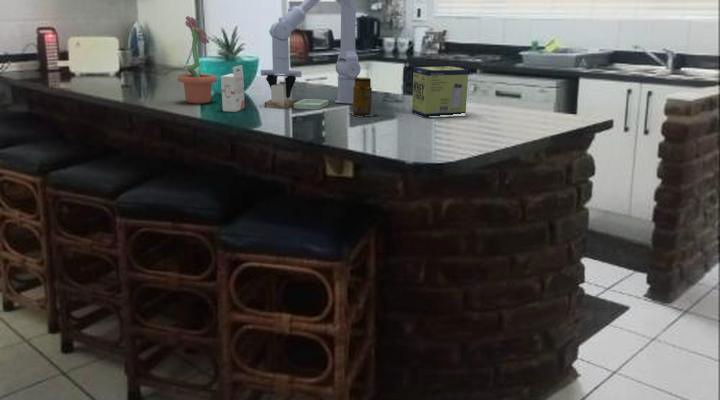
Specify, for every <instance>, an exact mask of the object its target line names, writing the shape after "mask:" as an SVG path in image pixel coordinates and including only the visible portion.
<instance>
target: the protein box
mask: <svg viewBox="0 0 720 400" xmlns="http://www.w3.org/2000/svg"><path fill="white" fill-rule="evenodd" d="M412 81H413V82H412V83H413V84H412V98H411V99H412V100H411V102H412V103H411V104H412V105H411V113H412V112H413V113H416V114H418V115H421V116H423V117H429V116H440V115H453V114H461V113H466V112H467V97H468V96H467V95H468V82H469V69H467V68H462V67H458V66H453V65H451V66H450V65H449V66H423V67H422V66H413V78H412ZM413 113H412V114H413ZM416 114H415V115H416ZM466 114H467V113H466ZM418 115H417V116H418ZM421 116H420V117H421ZM423 117H422V118H423Z"/></svg>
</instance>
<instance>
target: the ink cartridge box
mask: <svg viewBox="0 0 720 400" xmlns="http://www.w3.org/2000/svg"><path fill="white" fill-rule="evenodd" d="M237 70H239V71H237ZM244 78H245V77H244V68H243V65H242V64H240V65H237V66H232V73H227V74H225V75H220V85H221V99H222V100H221V102H222V103H221V104H222V111H223V112H230V113H231V112H232V113H233V112H235V113H236V112H239V111H241V110H243V109H245V108H246V107H245V106H246V105H245V102H246V101H245V81H244V80H245V79H244Z"/></svg>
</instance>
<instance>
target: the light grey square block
mask: <svg viewBox="0 0 720 400" xmlns="http://www.w3.org/2000/svg"><path fill="white" fill-rule="evenodd" d="M270 93H271V94H270V95H271V97H270V98H271V99H270V100H271V101H272V102H277V103H286V102H289V101H291V100H292V94H291V95H290V97H289V98H287V97H286V82H285V81H279V83H278V82H277V84H275V85H272V86H271V88H270Z"/></svg>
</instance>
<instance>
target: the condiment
mask: <svg viewBox="0 0 720 400" xmlns="http://www.w3.org/2000/svg"><path fill="white" fill-rule="evenodd" d="M371 81H372V80H371V78H370V77H358V78H355V86H354V88H353V104H352V113H353V114H352V116H354V117H359V118H364V117H363V116H365V115H370V114H372V104H373V103H372V101H373V100H372V96H373V95H372V94H373V92H372V86H371V85H372V82H371Z"/></svg>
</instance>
